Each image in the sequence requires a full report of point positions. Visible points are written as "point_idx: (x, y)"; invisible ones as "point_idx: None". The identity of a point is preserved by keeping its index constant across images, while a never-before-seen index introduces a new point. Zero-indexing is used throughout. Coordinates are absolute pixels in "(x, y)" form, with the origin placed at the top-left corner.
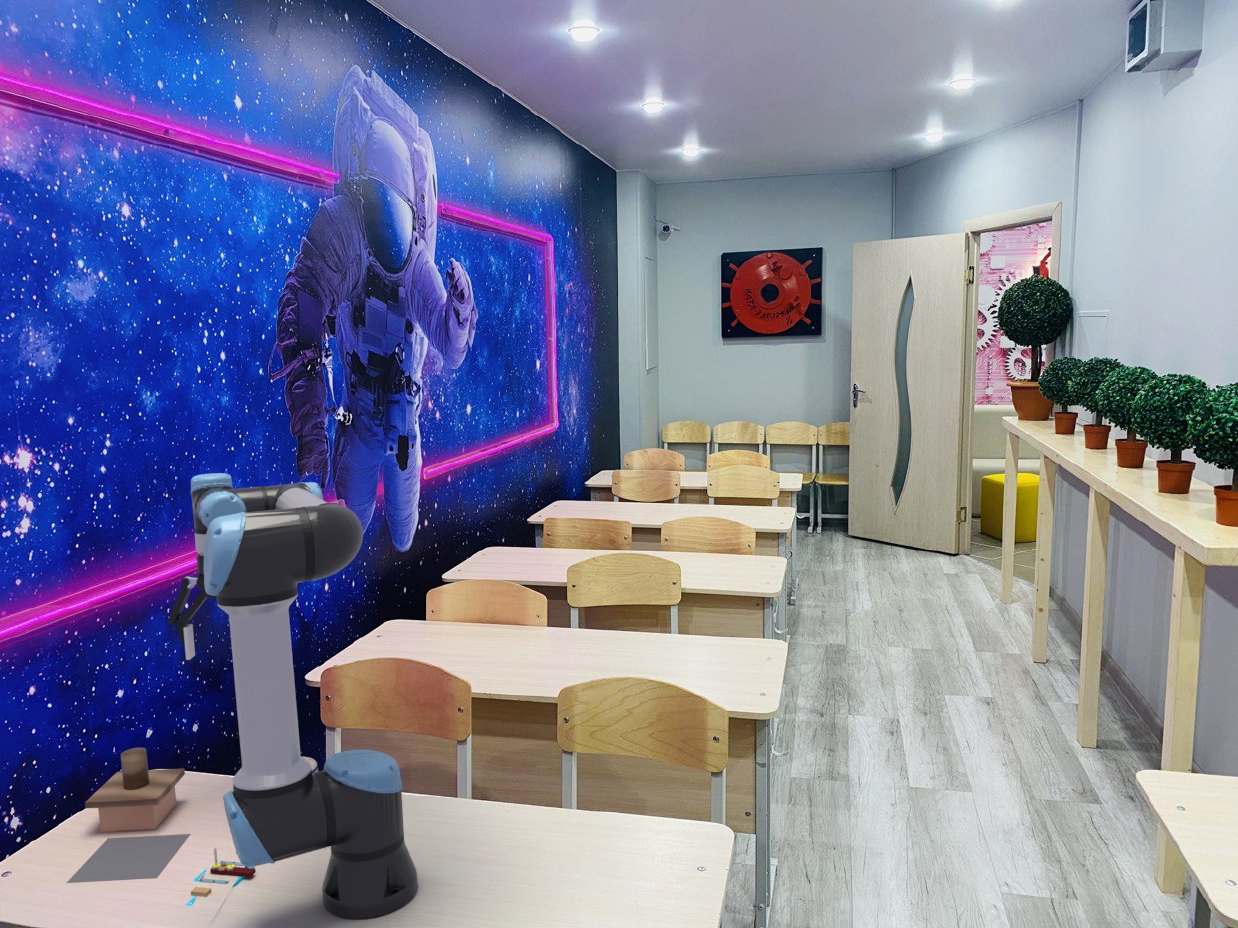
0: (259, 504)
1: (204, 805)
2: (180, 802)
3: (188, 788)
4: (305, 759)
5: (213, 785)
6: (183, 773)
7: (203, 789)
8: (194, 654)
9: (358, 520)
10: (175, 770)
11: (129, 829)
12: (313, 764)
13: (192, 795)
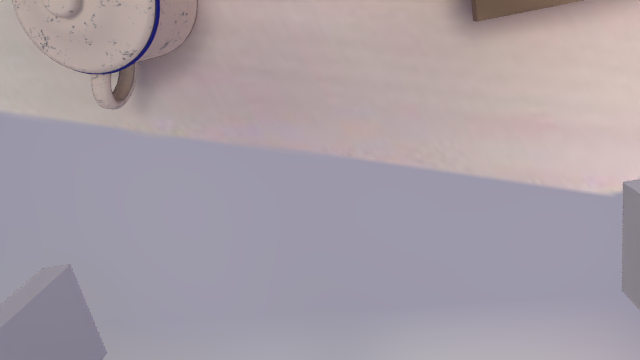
0: None
1: (400, 7)
2: None
3: (493, 99)
4: (40, 17)
5: (433, 119)
6: (474, 10)
7: (449, 96)
8: (628, 285)
9: None
10: (501, 3)
11: None
12: (19, 11)
13: (462, 60)
